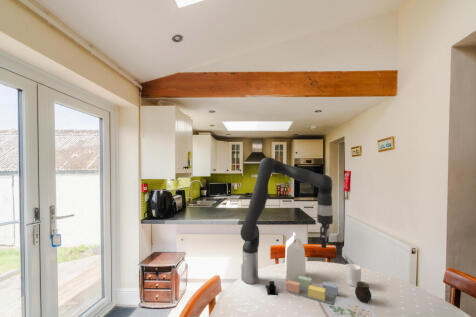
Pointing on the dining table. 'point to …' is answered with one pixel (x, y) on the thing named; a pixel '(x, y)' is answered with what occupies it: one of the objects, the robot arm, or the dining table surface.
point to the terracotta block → (293, 286)
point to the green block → (304, 281)
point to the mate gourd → (363, 292)
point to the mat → (304, 293)
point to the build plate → (271, 288)
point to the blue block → (330, 288)
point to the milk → (294, 259)
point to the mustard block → (317, 292)
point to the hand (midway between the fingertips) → (325, 245)
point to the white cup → (353, 274)
